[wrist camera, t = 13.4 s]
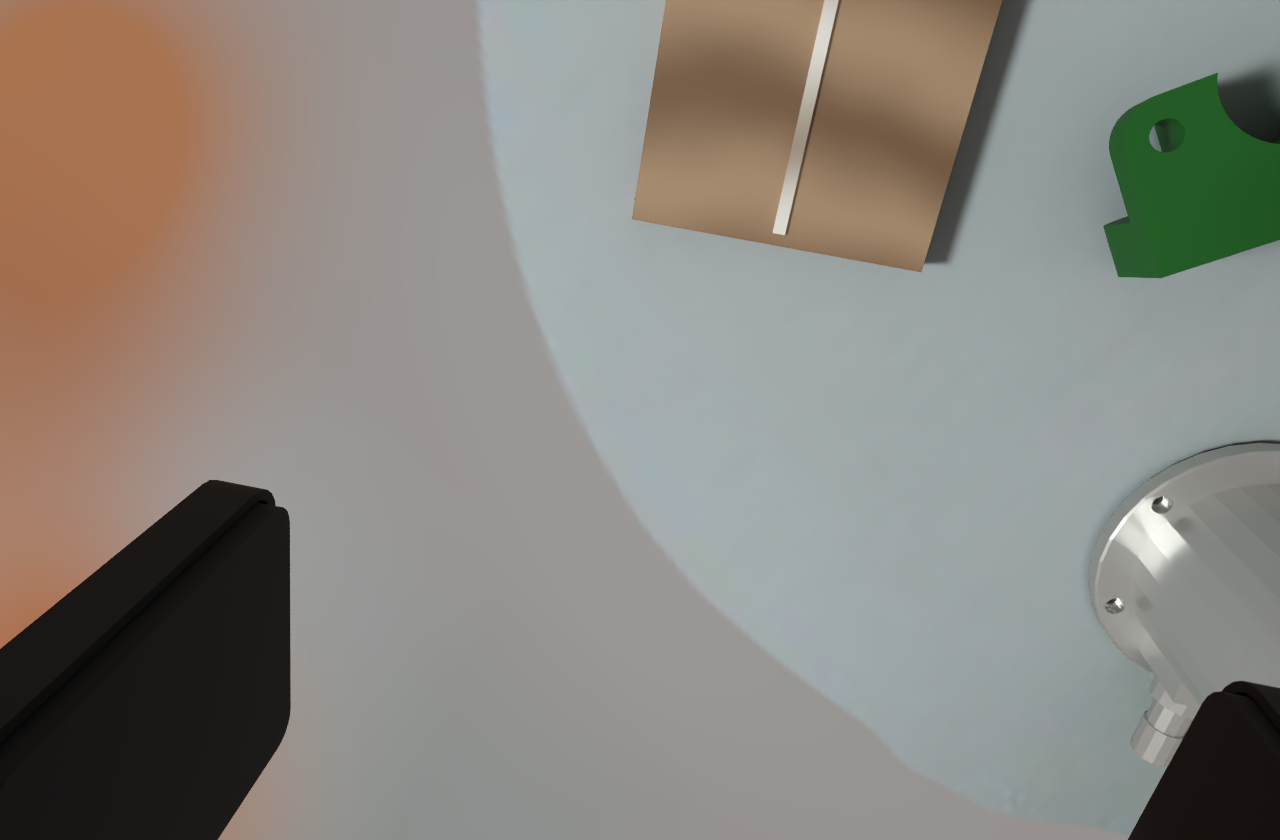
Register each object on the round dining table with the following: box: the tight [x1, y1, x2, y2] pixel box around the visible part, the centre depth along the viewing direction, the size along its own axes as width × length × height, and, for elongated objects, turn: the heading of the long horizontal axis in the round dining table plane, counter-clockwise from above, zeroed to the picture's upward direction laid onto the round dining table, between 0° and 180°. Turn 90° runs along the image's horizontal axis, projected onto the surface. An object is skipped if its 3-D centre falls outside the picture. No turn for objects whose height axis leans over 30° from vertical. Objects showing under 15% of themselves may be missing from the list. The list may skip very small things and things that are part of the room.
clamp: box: [1104, 73, 1280, 278], centre depth 31 cm, size 12×6×9 cm, turn 106°
